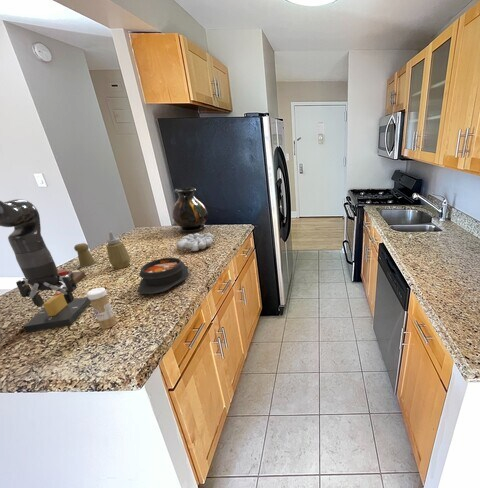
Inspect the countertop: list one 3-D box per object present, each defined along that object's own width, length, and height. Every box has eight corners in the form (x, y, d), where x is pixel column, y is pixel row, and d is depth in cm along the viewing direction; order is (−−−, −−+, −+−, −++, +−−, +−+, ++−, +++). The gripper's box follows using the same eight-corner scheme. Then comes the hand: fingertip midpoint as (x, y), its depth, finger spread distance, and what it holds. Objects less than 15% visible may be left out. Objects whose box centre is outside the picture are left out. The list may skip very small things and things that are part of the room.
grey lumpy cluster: (172, 245, 153) (170, 235, 151) (208, 236, 166) (207, 228, 164) (182, 256, 138) (180, 246, 136) (221, 246, 151) (220, 237, 149)
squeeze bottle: (107, 269, 125) (95, 234, 118) (123, 262, 132) (112, 228, 126) (120, 271, 123) (109, 235, 117) (136, 263, 131) (125, 229, 124)
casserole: (159, 269, 125) (154, 253, 122) (198, 268, 126) (195, 252, 123) (125, 298, 102) (119, 280, 99) (174, 297, 103) (169, 278, 100)
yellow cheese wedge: (55, 315, 88) (48, 302, 86) (48, 316, 88) (42, 303, 86) (67, 304, 94) (62, 292, 92) (61, 305, 94) (56, 292, 92)
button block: (43, 289, 108) (39, 281, 107) (55, 279, 116) (52, 271, 115) (75, 285, 111) (72, 277, 110) (85, 275, 119) (82, 267, 118)
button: (54, 277, 110) (53, 273, 110) (59, 273, 113) (58, 270, 113) (65, 276, 111) (63, 272, 111) (69, 272, 115) (68, 268, 114)
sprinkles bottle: (96, 329, 85) (82, 294, 80) (107, 320, 90) (94, 286, 84) (110, 329, 85) (96, 294, 80) (120, 320, 90) (108, 287, 84)
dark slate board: (25, 332, 84) (22, 326, 83) (52, 308, 96) (49, 302, 95) (71, 325, 87) (68, 318, 86) (91, 302, 100) (88, 296, 99)
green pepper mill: (94, 265, 129) (86, 245, 125) (78, 268, 126) (70, 247, 122) (97, 260, 134) (89, 241, 130) (81, 263, 131) (73, 243, 127)
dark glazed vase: (207, 233, 173) (200, 191, 162) (172, 236, 168) (161, 193, 157) (211, 223, 192) (205, 185, 182) (179, 226, 187) (171, 187, 176)
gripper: (-2, 269, 79) (22, 313, 85) (54, 264, 82) (73, 307, 88) (19, 259, 86) (39, 300, 92) (70, 255, 89) (86, 295, 95)
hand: (55, 303), depth 90 cm, fingers open, 8 cm apart
